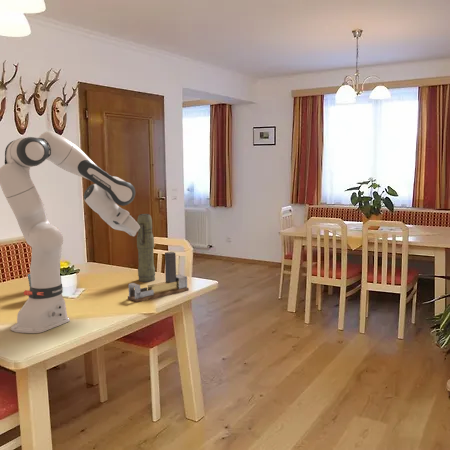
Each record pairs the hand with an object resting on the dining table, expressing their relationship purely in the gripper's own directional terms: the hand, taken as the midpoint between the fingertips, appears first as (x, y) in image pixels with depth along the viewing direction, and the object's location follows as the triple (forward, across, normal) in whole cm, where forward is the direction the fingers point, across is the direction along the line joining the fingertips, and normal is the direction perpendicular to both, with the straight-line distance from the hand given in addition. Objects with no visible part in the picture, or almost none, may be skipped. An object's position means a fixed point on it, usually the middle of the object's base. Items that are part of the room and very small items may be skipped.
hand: (133, 234), depth 217 cm
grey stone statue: (+37, -26, -5) cm, 46 cm away
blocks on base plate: (+31, +2, -9) cm, 32 cm away
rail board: (+29, +2, -13) cm, 32 cm away
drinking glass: (-2, -30, -44) cm, 53 cm away
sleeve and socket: (+29, +2, -13) cm, 32 cm away
